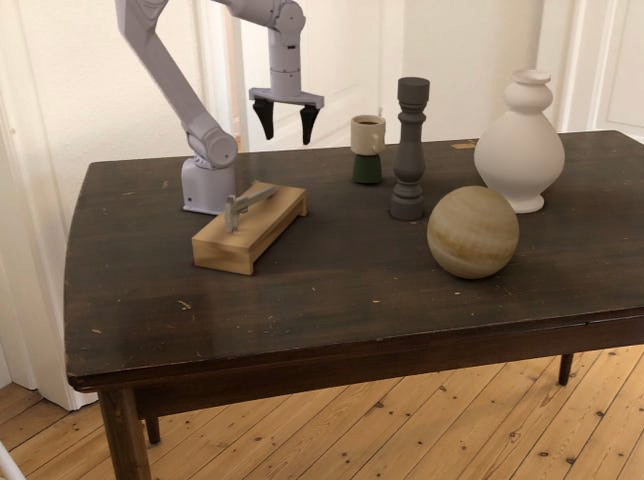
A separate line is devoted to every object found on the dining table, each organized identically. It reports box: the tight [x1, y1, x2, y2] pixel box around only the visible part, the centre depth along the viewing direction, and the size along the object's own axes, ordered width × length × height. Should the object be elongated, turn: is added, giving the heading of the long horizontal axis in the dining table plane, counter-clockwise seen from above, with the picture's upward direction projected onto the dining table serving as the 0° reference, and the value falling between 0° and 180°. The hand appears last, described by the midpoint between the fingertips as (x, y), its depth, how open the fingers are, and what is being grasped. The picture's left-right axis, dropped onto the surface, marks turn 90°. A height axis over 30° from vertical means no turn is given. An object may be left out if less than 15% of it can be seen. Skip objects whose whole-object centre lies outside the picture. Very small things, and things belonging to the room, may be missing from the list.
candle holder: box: [390, 76, 431, 221], centre depth 137 cm, size 6×6×25 cm
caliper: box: [225, 185, 278, 233], centre depth 128 cm, size 20×1×6 cm, turn 166°
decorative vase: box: [473, 68, 566, 214], centre depth 145 cm, size 18×18×25 cm
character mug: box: [350, 114, 387, 185], centre depth 153 cm, size 11×7×13 cm, turn 24°
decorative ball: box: [426, 185, 520, 280], centre depth 121 cm, size 15×15×15 cm
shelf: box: [191, 181, 308, 276], centre depth 131 cm, size 10×26×5 cm, turn 165°
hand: (288, 141), depth 145 cm, fingers open, 7 cm apart
